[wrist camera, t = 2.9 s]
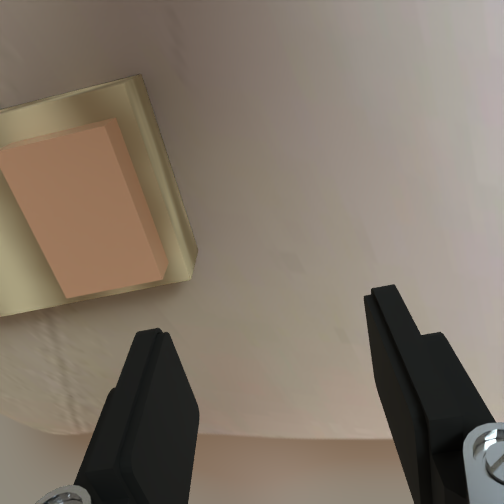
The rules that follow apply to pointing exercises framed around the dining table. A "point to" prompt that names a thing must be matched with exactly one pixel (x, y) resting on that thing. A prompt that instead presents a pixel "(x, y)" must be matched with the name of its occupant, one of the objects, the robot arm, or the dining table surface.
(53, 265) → the tile
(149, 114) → the board
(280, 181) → the dining table surface
